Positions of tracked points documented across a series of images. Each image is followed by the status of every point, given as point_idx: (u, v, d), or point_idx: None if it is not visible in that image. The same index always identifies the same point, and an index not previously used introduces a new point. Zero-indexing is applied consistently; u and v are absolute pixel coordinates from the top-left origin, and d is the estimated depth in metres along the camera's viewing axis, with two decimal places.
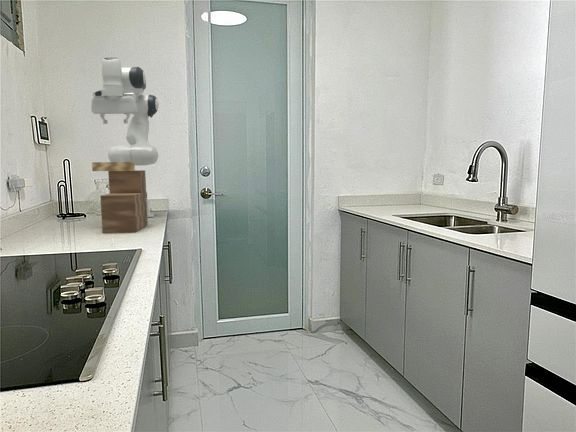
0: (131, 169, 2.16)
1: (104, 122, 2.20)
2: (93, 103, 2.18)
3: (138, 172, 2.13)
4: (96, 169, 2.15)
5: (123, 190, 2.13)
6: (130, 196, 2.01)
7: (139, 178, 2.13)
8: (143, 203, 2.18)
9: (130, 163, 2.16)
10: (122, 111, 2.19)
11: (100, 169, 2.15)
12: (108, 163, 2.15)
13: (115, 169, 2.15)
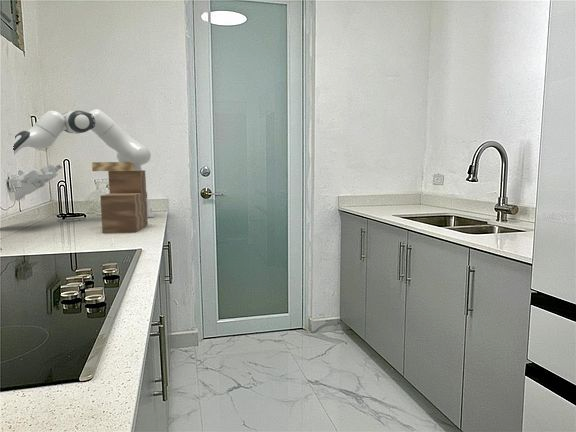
0: (131, 169, 2.16)
1: None
2: (50, 179, 2.24)
3: (138, 172, 2.13)
4: (96, 169, 2.15)
5: (123, 190, 2.13)
6: (130, 196, 2.01)
7: (139, 178, 2.13)
8: (143, 203, 2.18)
9: (130, 163, 2.16)
10: (45, 175, 2.11)
11: (100, 169, 2.15)
12: (108, 163, 2.15)
13: (115, 169, 2.15)
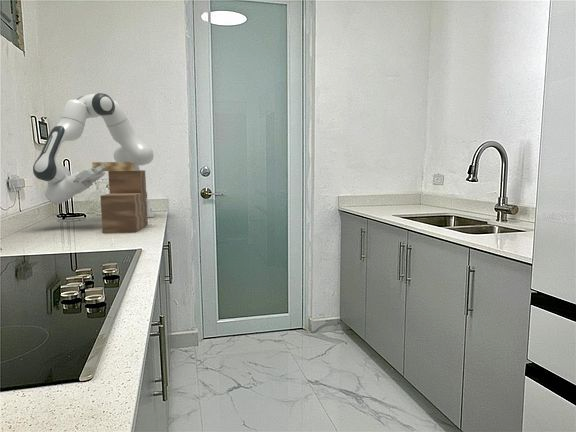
0: (131, 169, 2.16)
1: None
2: (97, 179, 2.25)
3: (138, 172, 2.13)
4: None
5: (123, 190, 2.13)
6: (130, 196, 2.01)
7: (139, 178, 2.13)
8: (143, 203, 2.18)
9: (130, 163, 2.16)
10: (95, 175, 2.13)
11: None
12: (108, 163, 2.15)
13: (115, 169, 2.15)
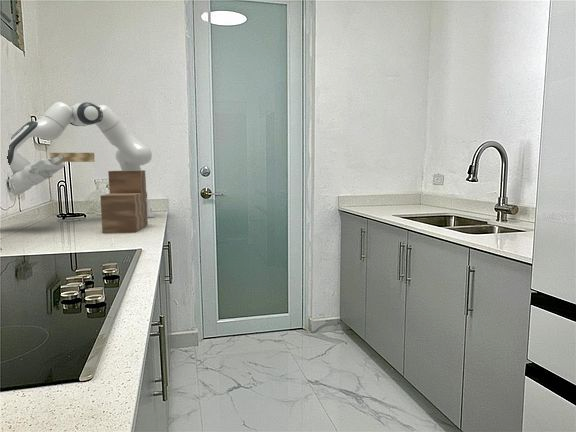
0: (90, 160, 2.10)
1: None
2: (57, 170, 2.19)
3: (138, 172, 2.13)
4: None
5: (123, 190, 2.13)
6: (130, 196, 2.01)
7: (139, 178, 2.13)
8: (143, 203, 2.18)
9: (89, 154, 2.09)
10: (52, 165, 2.06)
11: None
12: (66, 154, 2.08)
13: (74, 160, 2.09)
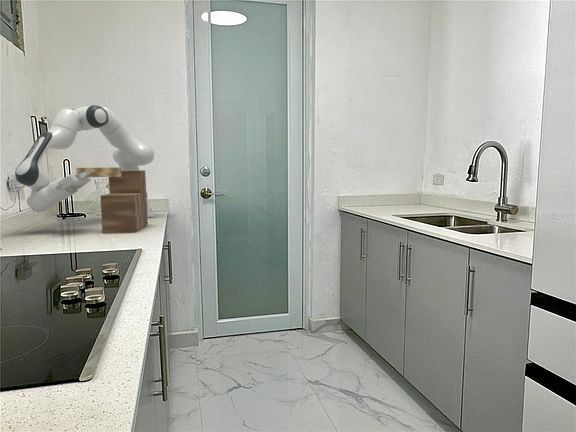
0: (117, 175, 2.04)
1: None
2: (83, 185, 2.13)
3: (138, 172, 2.13)
4: None
5: (123, 190, 2.13)
6: (130, 196, 2.01)
7: (139, 178, 2.13)
8: (143, 203, 2.18)
9: (116, 169, 2.04)
10: (79, 181, 2.01)
11: None
12: (93, 169, 2.03)
13: (100, 175, 2.04)
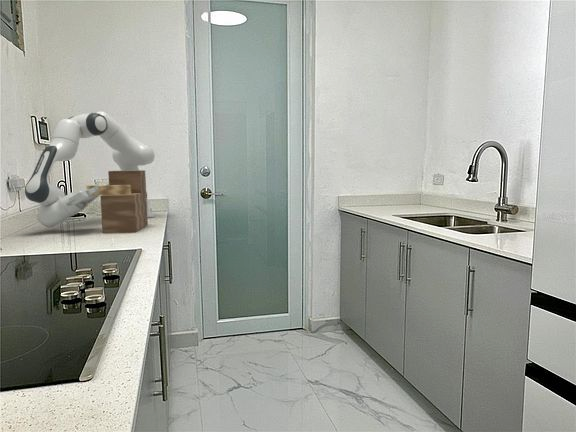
0: (127, 193, 2.05)
1: None
2: (92, 200, 2.14)
3: (138, 172, 2.13)
4: None
5: None
6: (130, 196, 2.01)
7: (139, 178, 2.13)
8: (143, 203, 2.18)
9: (126, 186, 2.05)
10: (90, 197, 2.02)
11: (95, 193, 2.04)
12: (103, 186, 2.04)
13: (111, 193, 2.05)
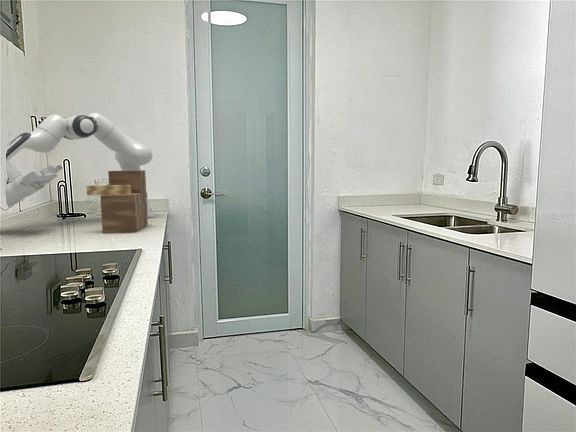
0: (127, 193, 2.05)
1: (61, 168, 2.08)
2: None
3: (138, 172, 2.13)
4: (91, 193, 2.04)
5: None
6: (130, 196, 2.01)
7: (139, 178, 2.13)
8: (143, 203, 2.18)
9: (126, 186, 2.05)
10: (44, 177, 1.99)
11: (95, 193, 2.04)
12: (103, 186, 2.04)
13: (111, 193, 2.05)
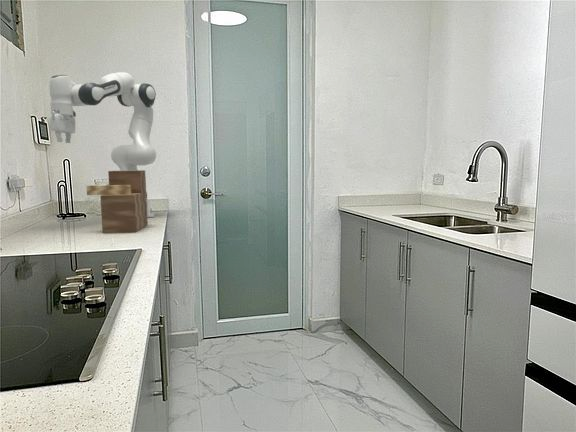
0: (127, 193, 2.05)
1: None
2: None
3: (138, 172, 2.13)
4: (91, 193, 2.04)
5: None
6: (130, 196, 2.01)
7: (139, 178, 2.13)
8: (143, 203, 2.18)
9: (126, 186, 2.05)
10: None
11: (95, 193, 2.04)
12: (103, 186, 2.04)
13: (111, 193, 2.05)
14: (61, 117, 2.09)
